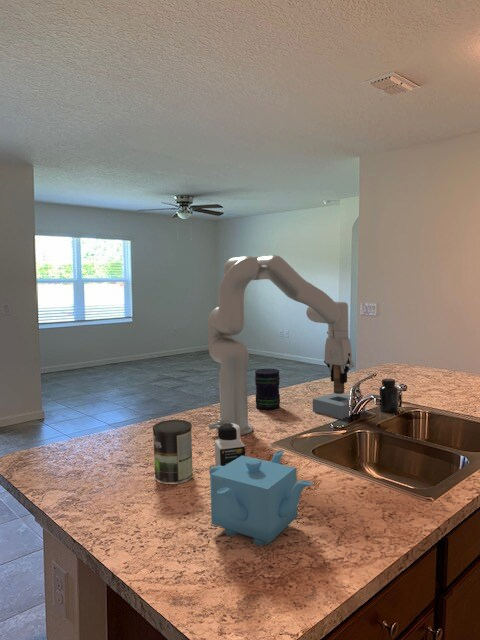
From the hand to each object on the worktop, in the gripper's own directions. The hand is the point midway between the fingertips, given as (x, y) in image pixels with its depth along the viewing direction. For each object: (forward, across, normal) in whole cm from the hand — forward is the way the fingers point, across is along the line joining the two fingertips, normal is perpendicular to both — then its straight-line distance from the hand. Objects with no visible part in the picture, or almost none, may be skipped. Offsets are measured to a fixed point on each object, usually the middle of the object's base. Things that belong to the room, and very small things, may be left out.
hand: (338, 381), depth 180 cm
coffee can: (+11, +9, -78) cm, 80 cm away
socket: (+12, 0, 0) cm, 12 cm away
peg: (+4, 0, 0) cm, 4 cm away
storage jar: (+12, -23, -16) cm, 31 cm away
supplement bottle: (+12, +12, +15) cm, 23 cm away
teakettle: (+11, +44, -78) cm, 90 cm away
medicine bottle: (+12, +14, -63) cm, 66 cm away
